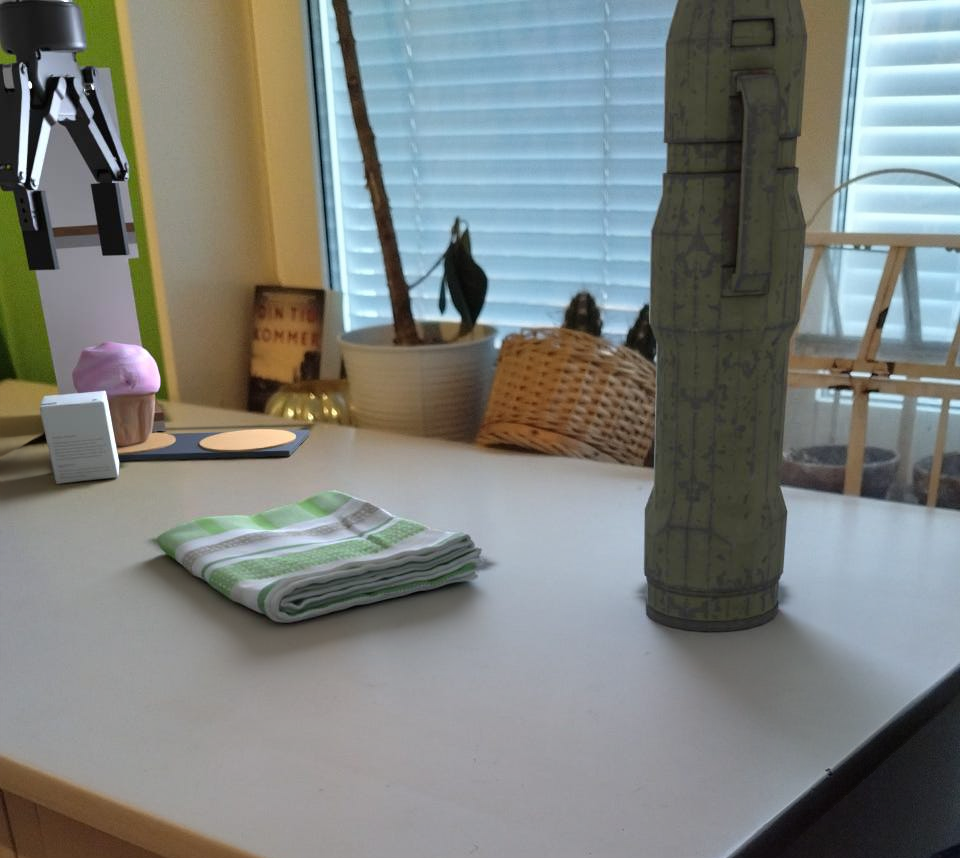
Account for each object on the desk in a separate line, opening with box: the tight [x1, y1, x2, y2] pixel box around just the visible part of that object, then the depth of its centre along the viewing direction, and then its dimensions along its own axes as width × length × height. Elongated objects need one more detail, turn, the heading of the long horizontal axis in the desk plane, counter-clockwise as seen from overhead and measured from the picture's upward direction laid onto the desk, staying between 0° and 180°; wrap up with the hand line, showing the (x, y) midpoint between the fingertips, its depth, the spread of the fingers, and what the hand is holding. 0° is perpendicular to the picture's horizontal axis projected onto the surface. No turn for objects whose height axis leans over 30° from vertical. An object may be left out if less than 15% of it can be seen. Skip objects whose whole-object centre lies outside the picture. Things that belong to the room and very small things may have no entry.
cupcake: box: [72, 342, 161, 447], centre depth 136 cm, size 9×9×10 cm
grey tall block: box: [34, 67, 167, 433], centre depth 142 cm, size 11×11×35 cm
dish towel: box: [156, 489, 485, 624], centre depth 98 cm, size 17×23×4 cm
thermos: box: [643, 0, 808, 632], centre depth 78 cm, size 9×12×35 cm
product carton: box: [39, 391, 120, 485], centre depth 128 cm, size 6×6×7 cm
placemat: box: [116, 428, 310, 462], centre depth 138 cm, size 24×10×1 cm, turn 85°
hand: (82, 262), depth 127 cm, fingers open, 13 cm apart
